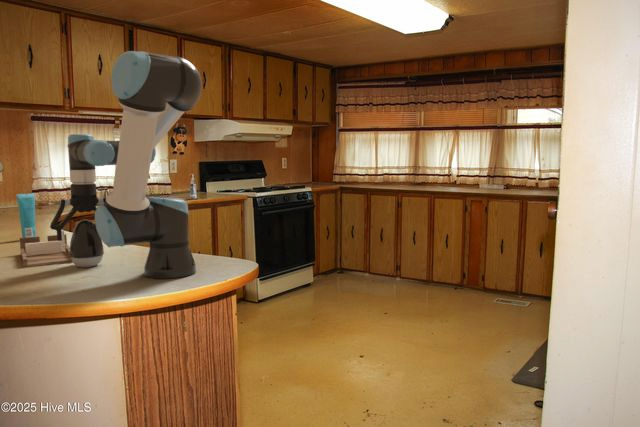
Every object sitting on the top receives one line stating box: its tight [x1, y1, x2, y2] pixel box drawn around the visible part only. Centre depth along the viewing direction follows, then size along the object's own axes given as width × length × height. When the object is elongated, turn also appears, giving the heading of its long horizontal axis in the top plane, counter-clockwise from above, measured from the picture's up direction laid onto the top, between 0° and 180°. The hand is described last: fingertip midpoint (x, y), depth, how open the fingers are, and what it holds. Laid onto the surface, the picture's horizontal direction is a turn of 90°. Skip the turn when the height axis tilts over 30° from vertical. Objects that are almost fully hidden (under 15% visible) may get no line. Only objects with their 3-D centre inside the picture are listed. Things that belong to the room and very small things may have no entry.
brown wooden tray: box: [19, 233, 73, 268], centre depth 181 cm, size 24×15×6 cm, turn 32°
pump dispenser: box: [69, 218, 105, 268], centre depth 169 cm, size 10×10×15 cm
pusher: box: [25, 241, 66, 255], centre depth 187 cm, size 8×12×4 cm, turn 122°
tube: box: [15, 192, 37, 238], centre depth 217 cm, size 7×5×19 cm, turn 152°
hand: (86, 248), depth 170 cm, fingers open, 13 cm apart
